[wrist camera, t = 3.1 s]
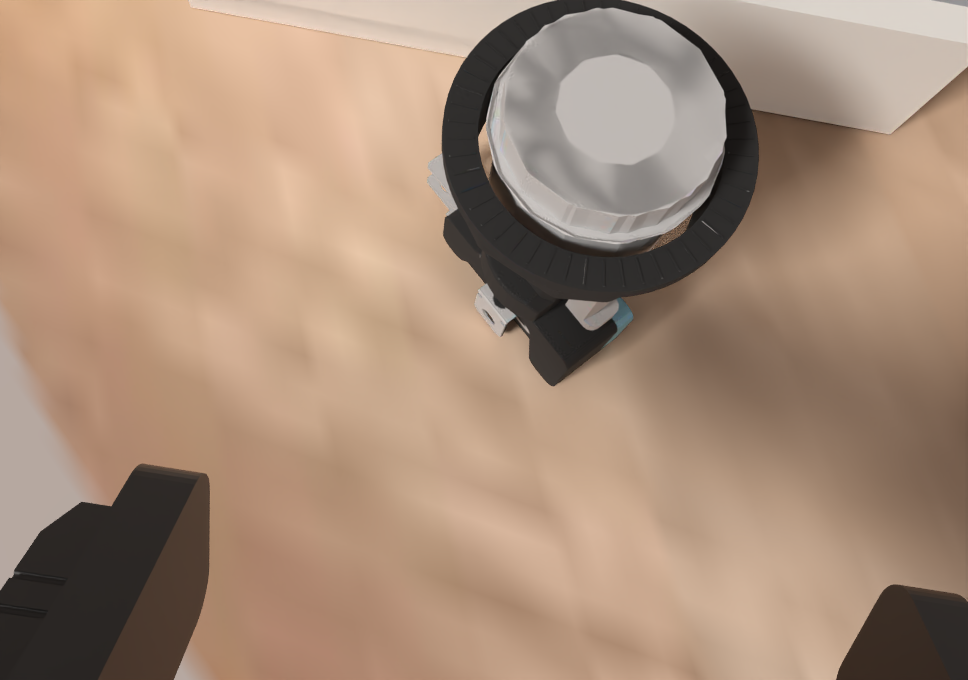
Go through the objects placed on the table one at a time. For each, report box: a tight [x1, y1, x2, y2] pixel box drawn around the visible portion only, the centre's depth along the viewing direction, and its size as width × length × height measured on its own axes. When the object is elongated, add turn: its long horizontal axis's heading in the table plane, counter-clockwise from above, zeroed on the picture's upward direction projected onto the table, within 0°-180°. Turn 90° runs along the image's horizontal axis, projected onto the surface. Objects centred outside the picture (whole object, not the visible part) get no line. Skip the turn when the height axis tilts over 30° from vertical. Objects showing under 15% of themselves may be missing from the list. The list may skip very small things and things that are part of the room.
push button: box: [427, 0, 759, 386], centre depth 19 cm, size 7×5×10 cm
